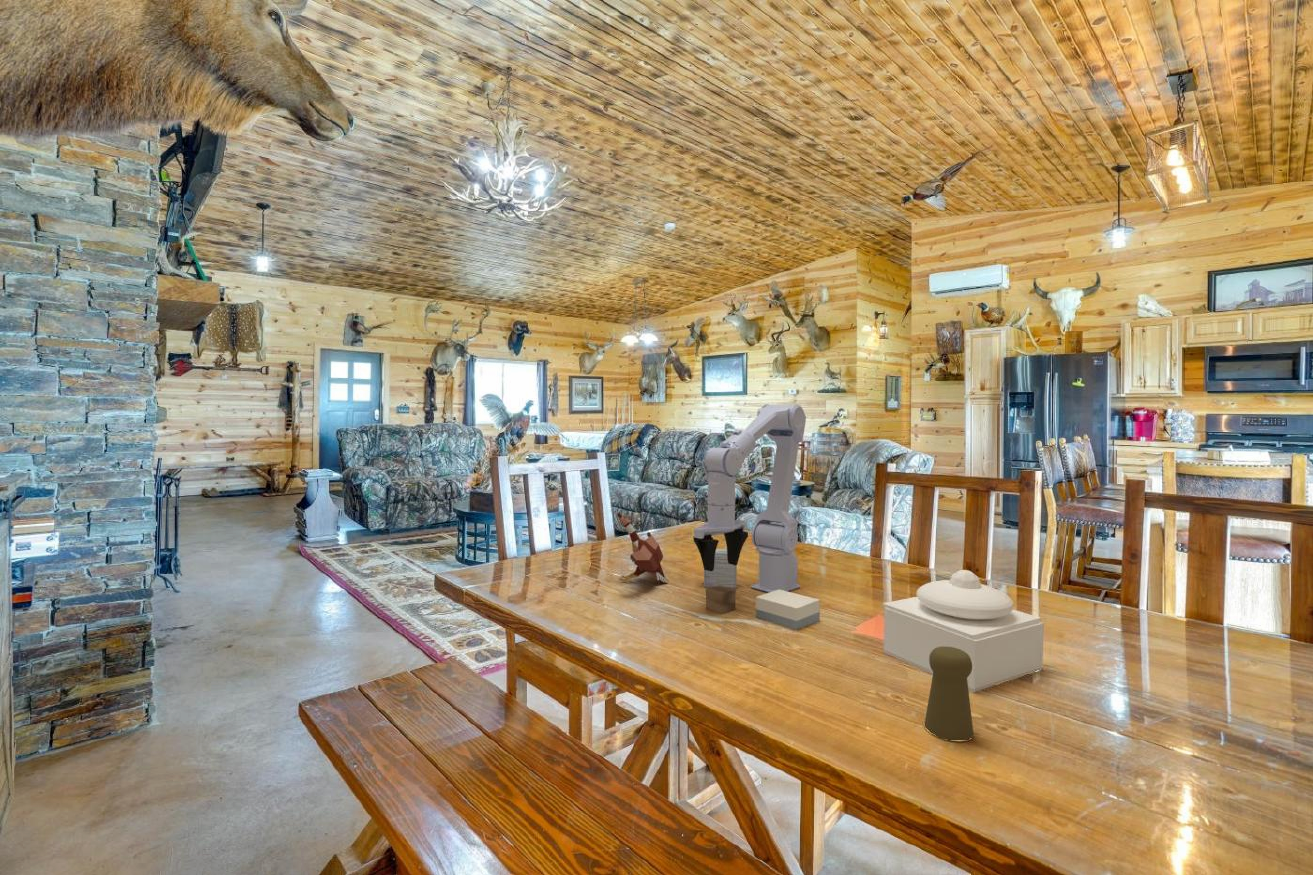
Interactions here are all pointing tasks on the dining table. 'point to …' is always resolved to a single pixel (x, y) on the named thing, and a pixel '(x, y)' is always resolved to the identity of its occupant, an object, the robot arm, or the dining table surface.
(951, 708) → the dark olive pawn
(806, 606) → the tower top block
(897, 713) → the dining table surface
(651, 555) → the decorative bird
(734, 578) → the gray wood grain block
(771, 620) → the tower base block
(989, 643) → the white saucer-topped box
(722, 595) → the walnut cube
